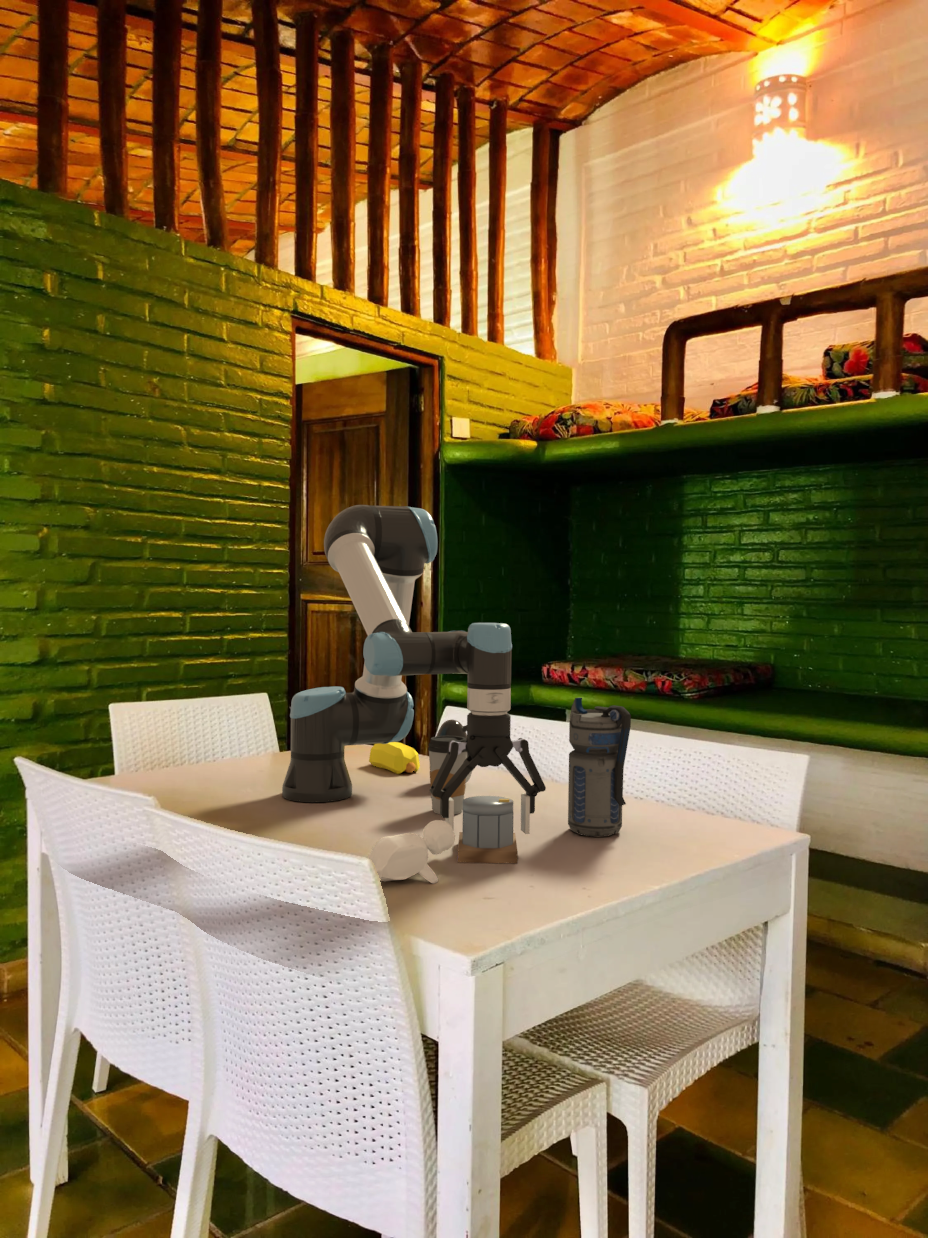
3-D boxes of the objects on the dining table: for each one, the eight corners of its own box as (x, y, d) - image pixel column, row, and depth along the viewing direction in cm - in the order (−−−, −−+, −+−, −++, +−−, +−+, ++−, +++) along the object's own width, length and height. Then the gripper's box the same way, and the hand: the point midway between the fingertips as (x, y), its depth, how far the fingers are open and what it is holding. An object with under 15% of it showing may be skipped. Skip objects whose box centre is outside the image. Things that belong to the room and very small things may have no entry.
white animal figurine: (389, 909, 147) (472, 863, 153) (370, 860, 146) (455, 815, 151) (371, 892, 155) (451, 849, 161) (352, 846, 154) (434, 804, 159)
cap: (462, 848, 163) (462, 804, 163) (462, 834, 172) (462, 793, 172) (514, 848, 163) (514, 805, 163) (511, 835, 172) (512, 793, 172)
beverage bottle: (609, 844, 174) (611, 706, 173) (554, 830, 184) (555, 699, 183) (643, 834, 181) (645, 701, 180) (588, 821, 191) (590, 695, 190)
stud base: (457, 862, 162) (458, 821, 161) (459, 843, 174) (459, 804, 173) (517, 863, 162) (517, 821, 161) (515, 844, 174) (515, 805, 173)
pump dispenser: (474, 790, 219) (474, 723, 218) (428, 789, 219) (428, 722, 218) (474, 780, 229) (475, 716, 228) (430, 780, 229) (431, 716, 228)
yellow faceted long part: (399, 777, 233) (426, 774, 237) (399, 749, 232) (426, 747, 237) (363, 765, 247) (389, 762, 252) (363, 739, 247) (389, 737, 252)
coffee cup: (474, 809, 200) (475, 737, 199) (457, 818, 192) (458, 743, 192) (438, 805, 203) (439, 734, 203) (420, 813, 196) (420, 739, 195)
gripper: (422, 717, 160) (421, 844, 161) (564, 713, 166) (563, 835, 167) (413, 711, 167) (412, 832, 168) (549, 707, 173) (548, 825, 174)
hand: (487, 834), depth 167 cm, fingers open, 13 cm apart
